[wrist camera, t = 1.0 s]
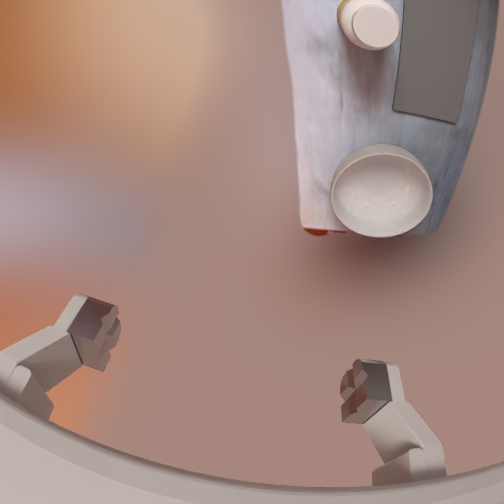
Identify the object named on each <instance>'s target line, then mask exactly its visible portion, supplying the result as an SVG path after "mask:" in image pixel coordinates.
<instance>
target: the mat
mask: <svg viewBox="0 0 504 504" xmlns="http://www.w3.org/2000/svg"><path fill="white" fill-rule="evenodd" d="M477 9H478V0H404V6H403V21H402V34H401V44H400V54H399V63H398V71H397V79H396V86H395V93H394V99H393V106H392V109H393V110H398V111H403V112H408V113H413V114H418V115H423V116H428V117H432V118H436V119H441V120H445V121H449V122H453V123H457V120H458V116H459V112H460V108H461V104H462V100H463V96H464V91H465V87H466V82H467V77H468V72H469V67H470V61H471V55H472V49H473V43H474V36H475V28H476V19H477Z"/></svg>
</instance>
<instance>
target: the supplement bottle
mask: <svg viewBox="0 0 504 504" xmlns="http://www.w3.org/2000/svg"><path fill="white" fill-rule="evenodd" d="M337 20H338V22H339V25H340V26H341V28H342V30H343V32H344V33H345V35H346V36H347V38H348V39H349V40H350V41H351V42H353V43H354V44H355V45H357V46H359V47H361V48H364V49H367V50H382V49H385V48H387V47H389V46H391V45H392V44H393V43H394V42H395V41H396V40H397V38H398V36H399V33H400V21H399V17H398V15H397V13H396V12H395V10H394V9H393V8H392V7H391V6H390V5H389V4H388V3H386V2H385V1H383V0H343V1H342V2H341V3H340V5H339V6H338V9H337Z"/></svg>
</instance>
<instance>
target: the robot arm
mask: <svg viewBox="0 0 504 504" xmlns="http://www.w3.org/2000/svg"><path fill="white" fill-rule="evenodd" d="M117 315H118V307H117V306H116V305H113V304H110V303H107V302H104V301H101V300H98V299H95V298H92V297H89V296H87V295H84V294H81V293H77V294H75V295H74V296H73V298H72V299H71V301H70V302H69V304H68V305H67V307H66V308H65V310H64V311H63V313H62V314H61V316H60V317H59V319H58V320H57V322H56V323H55V325H54V326H51V325H50V326H48V327H46V328H44V329H42V330H40V331H38V332H36V333H34V334H32V335H31V336H29V337H27V338H25V339H23V340H21V341H19V342H17V343H16V344H14V345H12V346H10V347H8V348H6V349H4V350H2V351H1V352H0V504H504V462H500V463H497V464H493V465H490V466H487V467H483V468H479V469H476V470H472V471H468V472H464V473H459V474H455V475H450V476H447V475H446V467H445V459H444V453H443V447H442V444H441V443H440V442H439V440H438V439H437V438H436V437H435V435H434V434H433V433H432V431H431V430H430V429H429V427H428V426H427V425H426V424H425V422H424V421H423V420H422V419H421V417H420V416H419V415H418V413H417V412H416V411H415V410H414V408H413V407H412V406H411V405H410V403H409V402H405V397H404V392H403V387H402V382H401V377H400V372H399V367H398V365H397V364H396V363H391V362H383V361H376V360H366V359H357V360H355V362H354V363H353V369H351V370H348V371H347V372H346V373H345V375H344V376H343V378H342V381H341V387H340V394H341V396H342V398H343V399H344V403H343V404H342V406H341V413H342V422H346V423H357V424H363V427H364V429H365V430H366V432H367V434H368V435H369V437H370V439H371V441H372V443H373V444H374V446H375V448H376V450H377V451H378V453H379V455H380V456H381V458H382V460H383V462H384V463H385V464H384V465H382V466H380V467H379V468H376V469H375V470H374V471H373V472H372V483H373V486H365V487H364V486H363V487H302V486H300V487H299V486H286V485H273V484H264V483H255V482H248V481H241V480H234V479H228V478H222V477H216V476H211V475H206V474H201V473H197V472H192V471H187V470H184V469H180V468H176V467H172V466H168V465H164V464H161V463H157V462H154V461H150V460H147V459H144V458H140V457H137V456H134V455H131V454H128V453H125V452H122V451H120V450H117V449H114V448H111V447H109V446H106V445H103V444H101V443H98V442H96V441H93V440H91V439H89V438H86V437H84V436H81V435H79V434H77V433H74V432H72V431H70V430H68V429H66V428H63V427H62V426H59V425H57V424H55V423H53V422H51V421H49V417H50V415H51V412H52V410H53V408H54V406H53V403H52V401H51V400H50V399H49V397H48V396H47V394H46V392H47V391H49V390H50V389H51V388H53V387H54V386H56V385H57V384H58V383H60V382H61V381H62V380H63V379H65V378H66V377H68V376H69V375H71V374H72V373H73V372H75V371H76V370H77V369H79V368H80V367H81V366H82V364H83V365H86V366H88V367H91V368H94V369H97V370H100V371H104V370H105V368H106V365H107V363H108V361H109V359H110V353H109V350H110V349H112V348H114V347H115V346H116V344H117V342H118V339H119V335H120V330H121V324H120V321H119V320H118V318H117Z"/></svg>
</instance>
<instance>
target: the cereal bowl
mask: <svg viewBox="0 0 504 504" xmlns="http://www.w3.org/2000/svg"><path fill="white" fill-rule="evenodd" d="M330 196H331V198H330V199H331V205H332V208H333V211H334V213H335V214H336V216H337V217H338V219H339V220H340V221H341V222H342V223H343V224H344V225H345V226H346V227H347V228H349V229H350V230H352V231H354V232H356V233H359V234H362V235H365V236H371V237H390V236H395V235H399V234H402V233H404V232H407V231H409V230H410V229H412V228H414V227H415V226H416V225H418V224H419V223H420V222H421V221H422V220H423V219H424V217H425V216H426V214H427V213H428V211H429V209H430V206H431V203H432V197H433V191H432V184H431V181H430V179H429V176H428V173H427V171H426V169H425V168H424V166H423V165H422V164H421V162H420V161H419V160H418V159H417V158H416V157H415V156H414V155H412V154H411V153H410V152H409V151H407V150H405V149H403V148H400V147H398V146H394V145H389V144H373V145H368V146H365V147H362V148H359V149H357V150H355V151H354V152H352V153H350V154H349V155H348V156H347V157H346V158H344V159H343V161H342V162H341V163H340V164H339V166H338V168H337V169H336V171H335V173H334V176H333V179H332V183H331V190H330Z"/></svg>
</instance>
